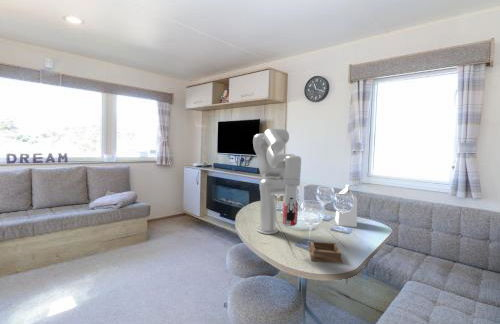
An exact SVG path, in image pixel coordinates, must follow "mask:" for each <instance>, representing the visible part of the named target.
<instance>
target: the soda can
mask: <svg viewBox="0 0 500 324" xmlns="http://www.w3.org/2000/svg"><path fill="white" fill-rule="evenodd" d="M297 201H298V200H297V199H296V205H295V207H294V221H288V220H287V212H288V206H285V201H284V202H283V204H282V205H283V206H282V224H283V225H284V226H286V227H294V226H296V225H298V217H299V214H298V213H299V204H298V202H297ZM289 205H290V204H289ZM289 208H290V207H289Z"/></svg>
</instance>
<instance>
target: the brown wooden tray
mask: <svg viewBox="0 0 500 324" xmlns="http://www.w3.org/2000/svg"><path fill="white" fill-rule="evenodd" d="M308 248H309V249H308V252H309V256H310V261H312V262H322V263H323V262H324V263H333V264H336V263H337V264H344V259H343V258H342V252H341V251H340V249H339V247H338V245H337V243H336V242H323V241H313V240H312V241H310V245H309V246H308Z"/></svg>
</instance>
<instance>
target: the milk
mask: <svg viewBox="0 0 500 324" xmlns="http://www.w3.org/2000/svg"><path fill="white" fill-rule="evenodd" d="M338 194H349V195H353V197H354V207H353V209H352V210H351V211H350V212H347V213H343V214H342V213H341V212H340V211H339V212H338V211H336V210H335V218H334V220H335V222H336V224H337V226H341V227H353V228H357V227H358V226H357V225H358V222H357V221H358V218H357V217H358V197H357V196H356V195H355V193H353V192H352V191H351V185H350V184H345V188H343V189H342V190H340V191H339V193H338Z"/></svg>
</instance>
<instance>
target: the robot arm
mask: <svg viewBox="0 0 500 324" xmlns="http://www.w3.org/2000/svg"><path fill="white" fill-rule="evenodd" d="M289 140H290V134H289V131H287V129H284V128H267V129H266V130H265V131H264V133H256V134H255V135H253V139H252V144H253V151H254V152H255V154H256V158H257V162H258V169H259V174H260V176H261V177H262V178H263V179H261V180H260V181H259V193H260V202H259V203H260V206H259V207H260V211H259V212H260V213H259V226H257V228H256V231H257V232H258V233H261V234H264V235H274V234H277V233H278V232H279V228H278V227H277V203H278V202H277V200H276V198H275V197H274V195H285V196H284V202H285V206H288V212H287V220H288V221H294V207H295V205H296V200H297V194H298V193H297V192H298V187H299V186H301V171H302V168H301V167H302V158H301V156H299V155H296V154H294V153H281V152H283V151H284V149H285V147H286V144H287V143H288V142H289ZM289 204H290V205H289ZM289 207H290V208H289Z"/></svg>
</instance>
